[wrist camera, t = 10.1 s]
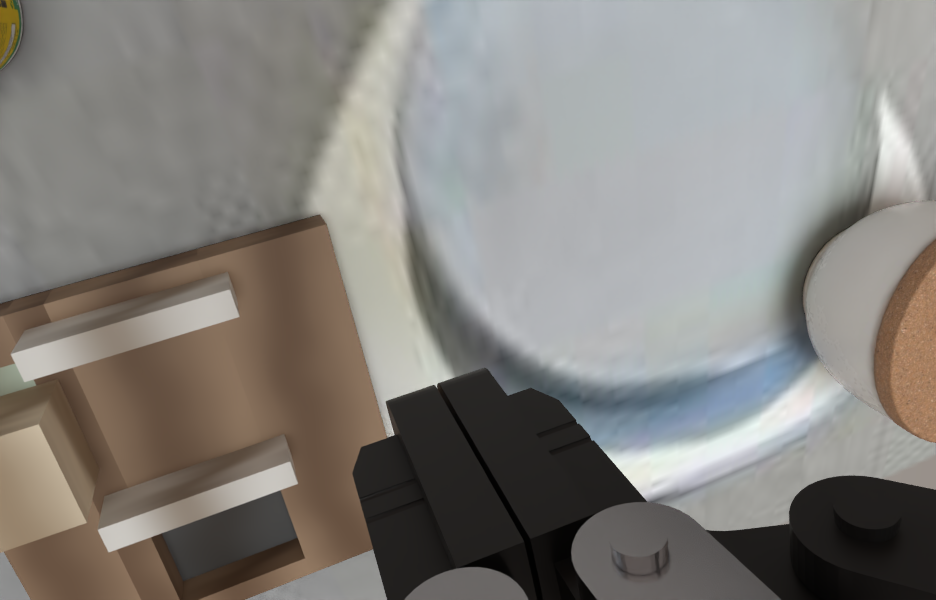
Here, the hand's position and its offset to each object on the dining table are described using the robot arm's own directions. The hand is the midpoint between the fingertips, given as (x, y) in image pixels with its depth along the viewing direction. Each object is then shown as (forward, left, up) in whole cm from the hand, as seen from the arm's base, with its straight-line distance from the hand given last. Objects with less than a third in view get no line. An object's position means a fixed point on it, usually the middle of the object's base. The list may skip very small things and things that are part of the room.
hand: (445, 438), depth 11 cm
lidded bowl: (-31, +15, -25) cm, 43 cm away
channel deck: (+7, +11, -24) cm, 28 cm away
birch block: (+13, +8, -22) cm, 27 cm away
